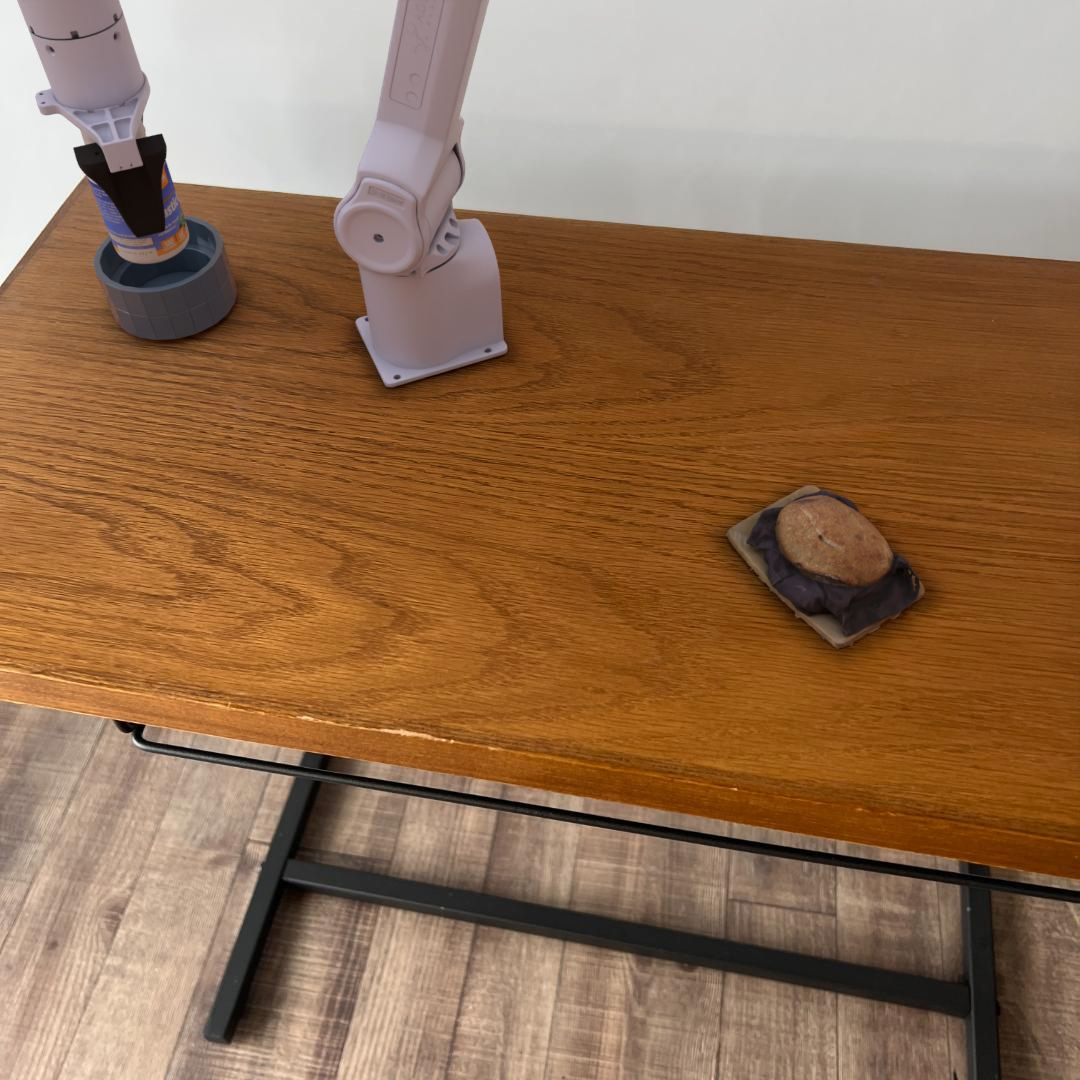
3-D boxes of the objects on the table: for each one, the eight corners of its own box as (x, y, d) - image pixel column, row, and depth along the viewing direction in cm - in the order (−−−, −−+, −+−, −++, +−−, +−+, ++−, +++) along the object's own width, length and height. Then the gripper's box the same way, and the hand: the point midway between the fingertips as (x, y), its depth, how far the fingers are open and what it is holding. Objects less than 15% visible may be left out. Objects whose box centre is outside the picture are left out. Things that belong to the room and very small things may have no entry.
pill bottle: (180, 267, 78) (139, 143, 70) (106, 266, 78) (57, 143, 70) (198, 222, 81) (160, 99, 74) (127, 221, 81) (82, 99, 74)
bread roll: (716, 540, 69) (722, 502, 66) (817, 485, 71) (827, 446, 68) (830, 658, 63) (842, 622, 60) (935, 593, 66) (952, 556, 63)
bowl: (223, 256, 88) (207, 202, 84) (250, 325, 83) (235, 271, 79) (106, 286, 86) (85, 232, 82) (126, 358, 80) (104, 305, 77)
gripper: (-4, -18, 70) (71, 169, 81) (21, 87, 62) (101, 281, 72) (107, -39, 72) (166, 148, 82) (146, 61, 63) (206, 254, 74)
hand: (142, 208), depth 77 cm, fingers closed on pill bottle, 5 cm apart
